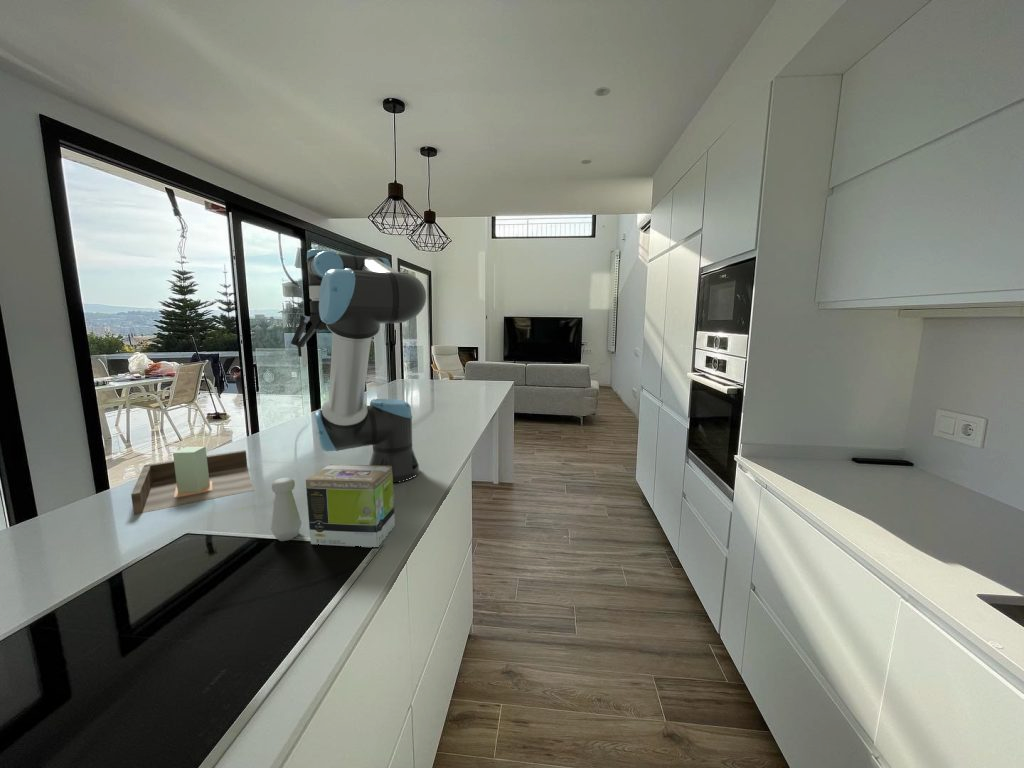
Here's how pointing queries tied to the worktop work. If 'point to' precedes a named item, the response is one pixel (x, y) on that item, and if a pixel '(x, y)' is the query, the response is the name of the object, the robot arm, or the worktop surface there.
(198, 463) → the sage block
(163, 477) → the tray
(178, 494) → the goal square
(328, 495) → the tea box
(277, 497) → the salt shaker
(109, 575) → the worktop surface
